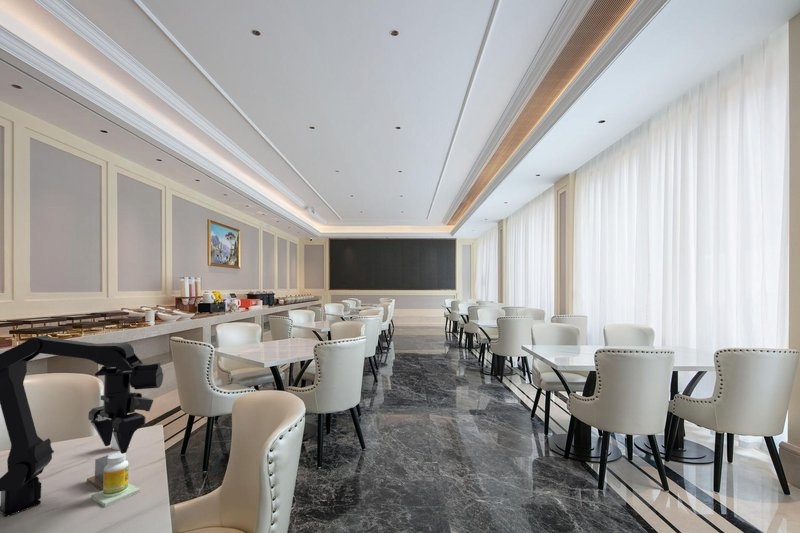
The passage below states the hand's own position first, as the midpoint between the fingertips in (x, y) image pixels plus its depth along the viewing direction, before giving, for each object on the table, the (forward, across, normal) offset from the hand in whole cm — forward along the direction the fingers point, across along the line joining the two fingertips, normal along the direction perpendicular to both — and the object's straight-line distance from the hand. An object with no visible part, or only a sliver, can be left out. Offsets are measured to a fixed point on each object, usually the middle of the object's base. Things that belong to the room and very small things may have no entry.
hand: (115, 449), depth 102 cm
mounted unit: (+12, +9, -2) cm, 15 cm away
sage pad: (+12, -1, 0) cm, 12 cm away
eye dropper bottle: (+12, +32, -15) cm, 38 cm away
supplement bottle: (+11, 0, 0) cm, 11 cm away
